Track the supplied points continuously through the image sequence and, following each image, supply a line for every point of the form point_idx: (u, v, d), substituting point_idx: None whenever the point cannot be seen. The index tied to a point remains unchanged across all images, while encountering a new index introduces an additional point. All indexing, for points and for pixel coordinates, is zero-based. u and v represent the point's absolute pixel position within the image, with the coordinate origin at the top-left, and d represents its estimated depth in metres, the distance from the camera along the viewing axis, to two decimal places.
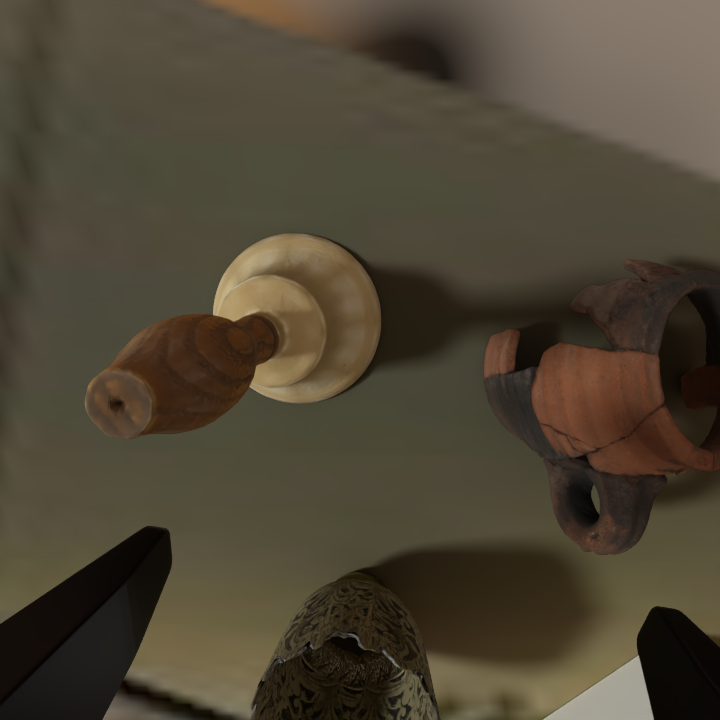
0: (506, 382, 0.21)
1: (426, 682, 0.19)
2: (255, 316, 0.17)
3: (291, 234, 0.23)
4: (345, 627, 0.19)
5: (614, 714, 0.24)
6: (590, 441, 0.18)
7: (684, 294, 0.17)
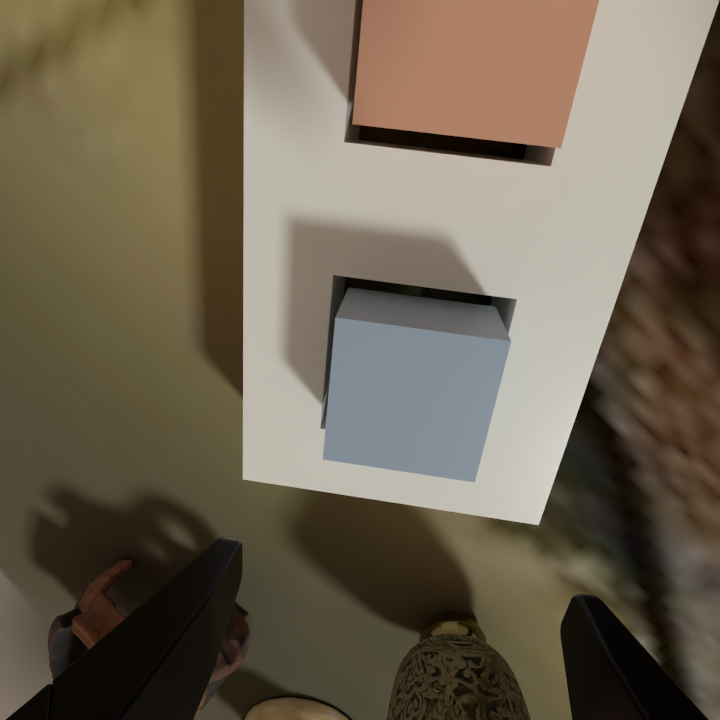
0: None
1: None
2: None
3: None
4: None
5: None
6: None
7: None
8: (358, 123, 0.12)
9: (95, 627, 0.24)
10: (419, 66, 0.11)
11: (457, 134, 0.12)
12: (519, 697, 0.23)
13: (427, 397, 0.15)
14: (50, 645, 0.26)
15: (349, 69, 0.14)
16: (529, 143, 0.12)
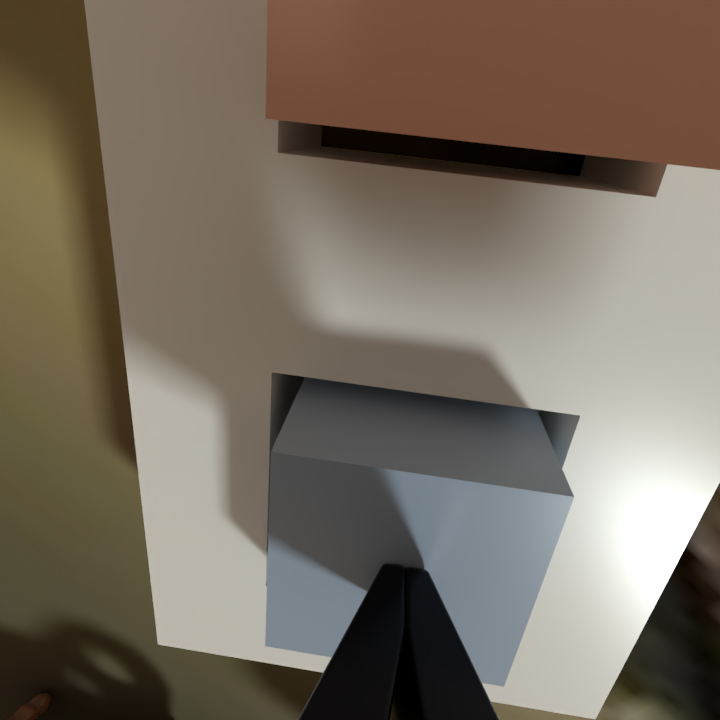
0: None
1: None
2: None
3: None
4: None
5: None
6: None
7: None
8: (279, 117, 0.05)
9: None
10: None
11: (495, 140, 0.05)
12: None
13: None
14: None
15: None
16: (656, 160, 0.05)
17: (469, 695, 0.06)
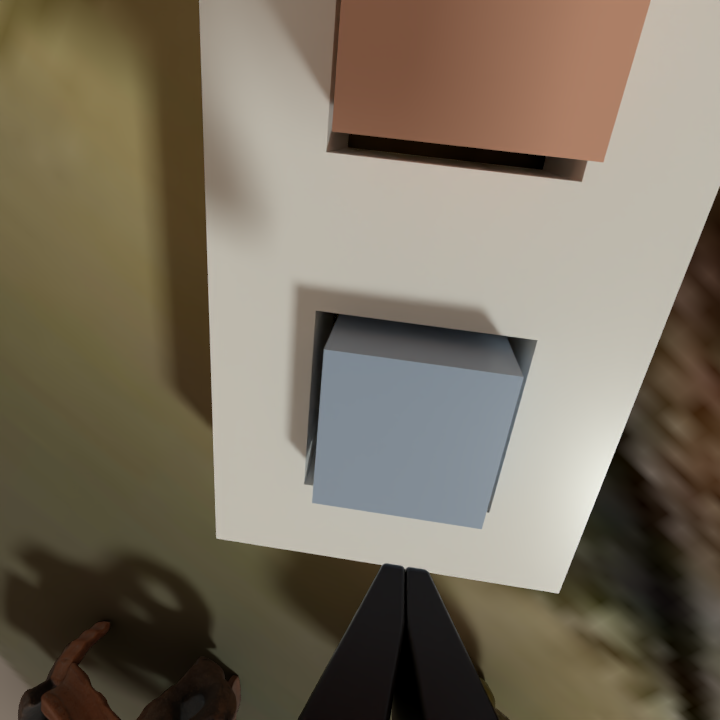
0: None
1: None
2: None
3: None
4: None
5: None
6: None
7: None
8: (339, 130, 0.09)
9: (66, 707, 0.22)
10: (419, 55, 0.09)
11: (468, 144, 0.09)
12: None
13: (428, 437, 0.13)
14: None
15: (331, 62, 0.11)
16: (561, 156, 0.09)
17: (469, 695, 0.06)
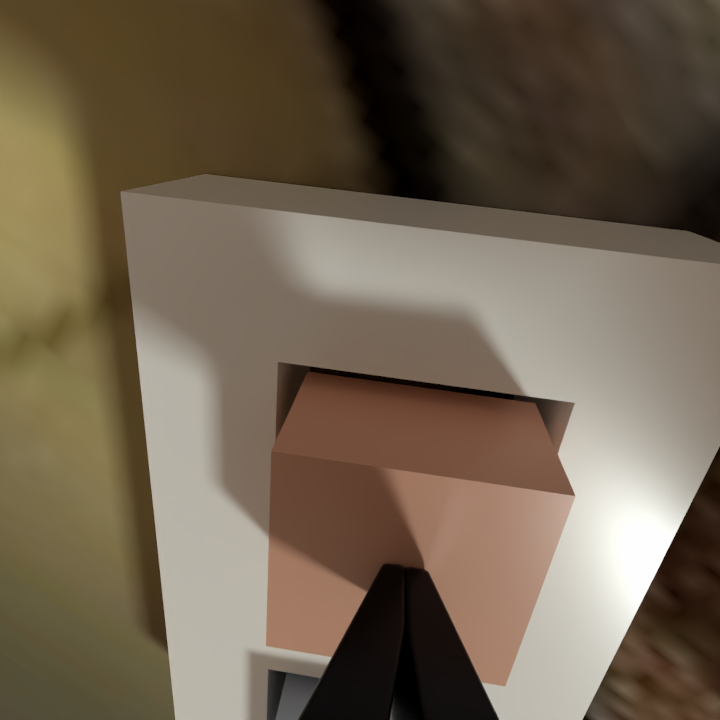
0: None
1: None
2: None
3: None
4: None
5: None
6: None
7: None
8: (272, 645, 0.10)
9: None
10: (338, 613, 0.10)
11: None
12: None
13: None
14: None
15: None
16: None
17: (469, 695, 0.06)
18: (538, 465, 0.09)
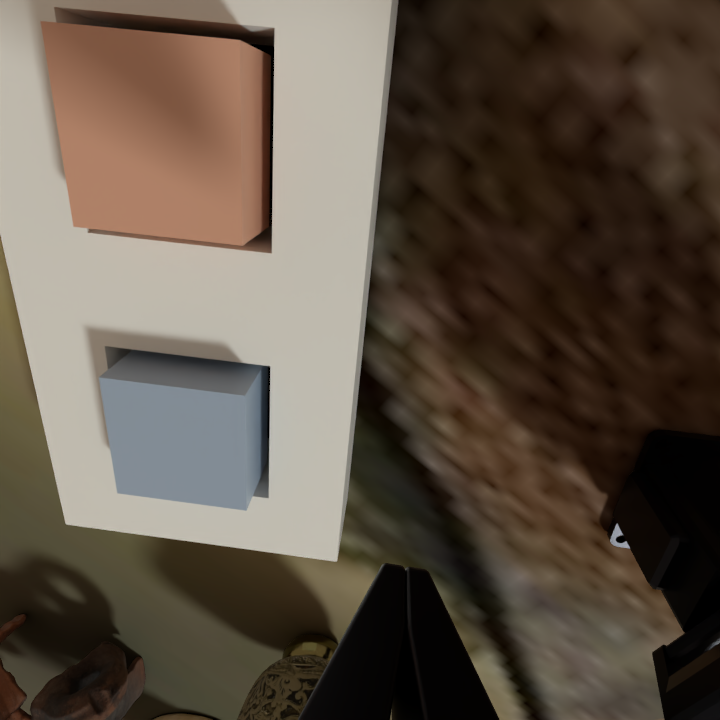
0: None
1: None
2: None
3: None
4: None
5: None
6: None
7: None
8: (78, 226, 0.14)
9: None
10: (115, 183, 0.14)
11: (159, 234, 0.14)
12: None
13: (189, 441, 0.17)
14: None
15: None
16: (217, 241, 0.14)
17: (469, 695, 0.06)
18: None
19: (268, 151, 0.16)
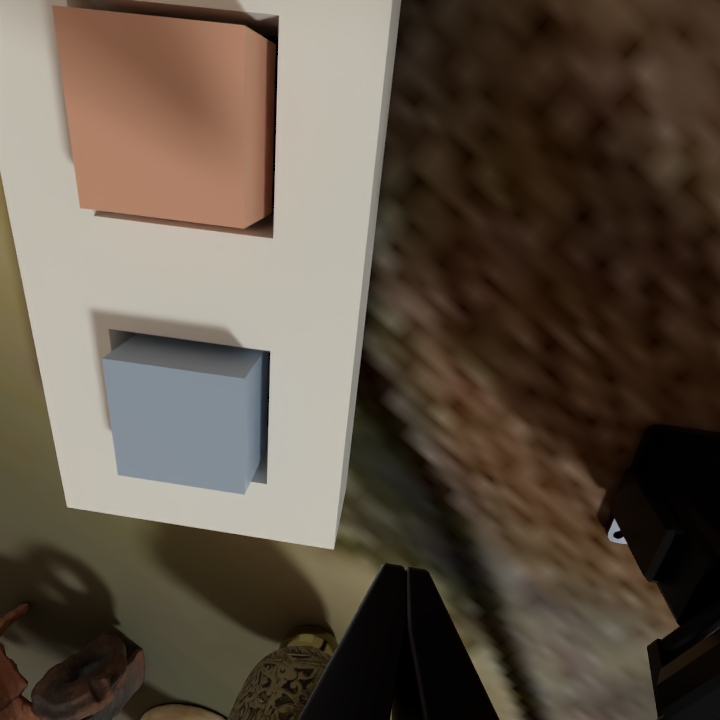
0: None
1: None
2: None
3: None
4: None
5: None
6: None
7: None
8: (85, 207, 0.15)
9: None
10: (121, 165, 0.14)
11: (163, 217, 0.15)
12: None
13: (189, 424, 0.18)
14: None
15: None
16: (219, 224, 0.14)
17: (469, 695, 0.06)
18: None
19: (272, 139, 0.16)
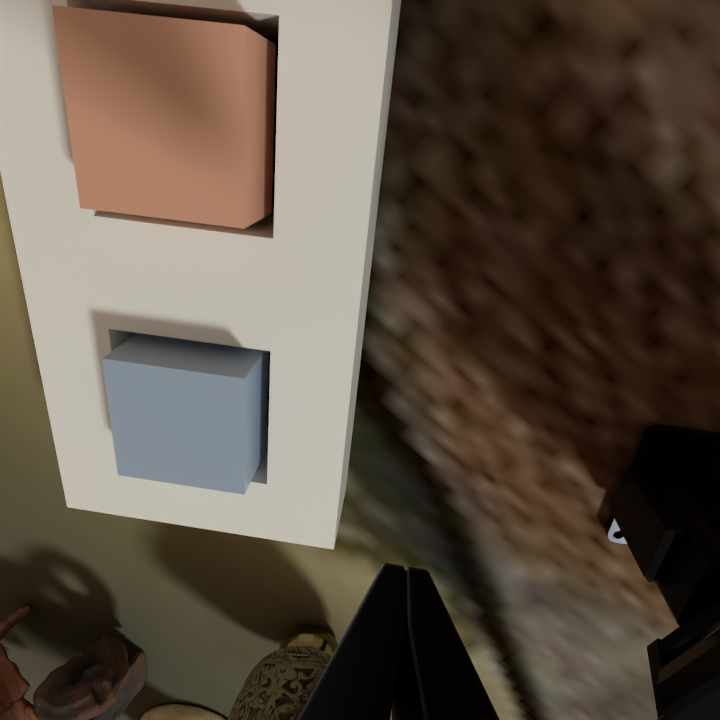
0: None
1: None
2: None
3: None
4: None
5: None
6: None
7: None
8: (85, 207, 0.15)
9: None
10: (121, 165, 0.14)
11: (163, 217, 0.15)
12: None
13: (189, 424, 0.18)
14: None
15: None
16: (219, 224, 0.14)
17: (469, 695, 0.06)
18: None
19: (272, 139, 0.16)
